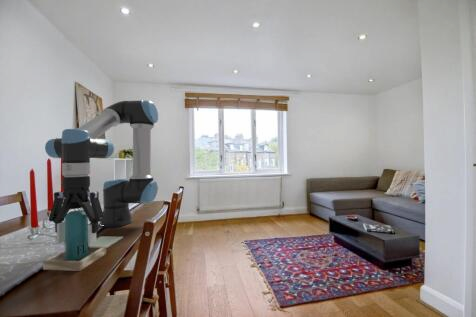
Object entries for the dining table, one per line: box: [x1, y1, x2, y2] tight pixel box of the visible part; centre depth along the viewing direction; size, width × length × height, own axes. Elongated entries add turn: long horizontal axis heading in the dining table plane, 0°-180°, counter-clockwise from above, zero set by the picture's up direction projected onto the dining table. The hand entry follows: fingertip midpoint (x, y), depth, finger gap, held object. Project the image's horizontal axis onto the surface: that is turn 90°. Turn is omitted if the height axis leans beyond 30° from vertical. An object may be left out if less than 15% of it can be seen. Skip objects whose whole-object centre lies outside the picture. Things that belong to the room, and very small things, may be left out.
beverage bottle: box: [64, 202, 89, 261], centre depth 73 cm, size 6×7×20 cm
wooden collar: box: [42, 246, 107, 272], centre depth 73 cm, size 12×12×2 cm
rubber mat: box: [88, 235, 124, 249], centre depth 89 cm, size 11×10×1 cm
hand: (76, 242), depth 73 cm, fingers open, 10 cm apart
